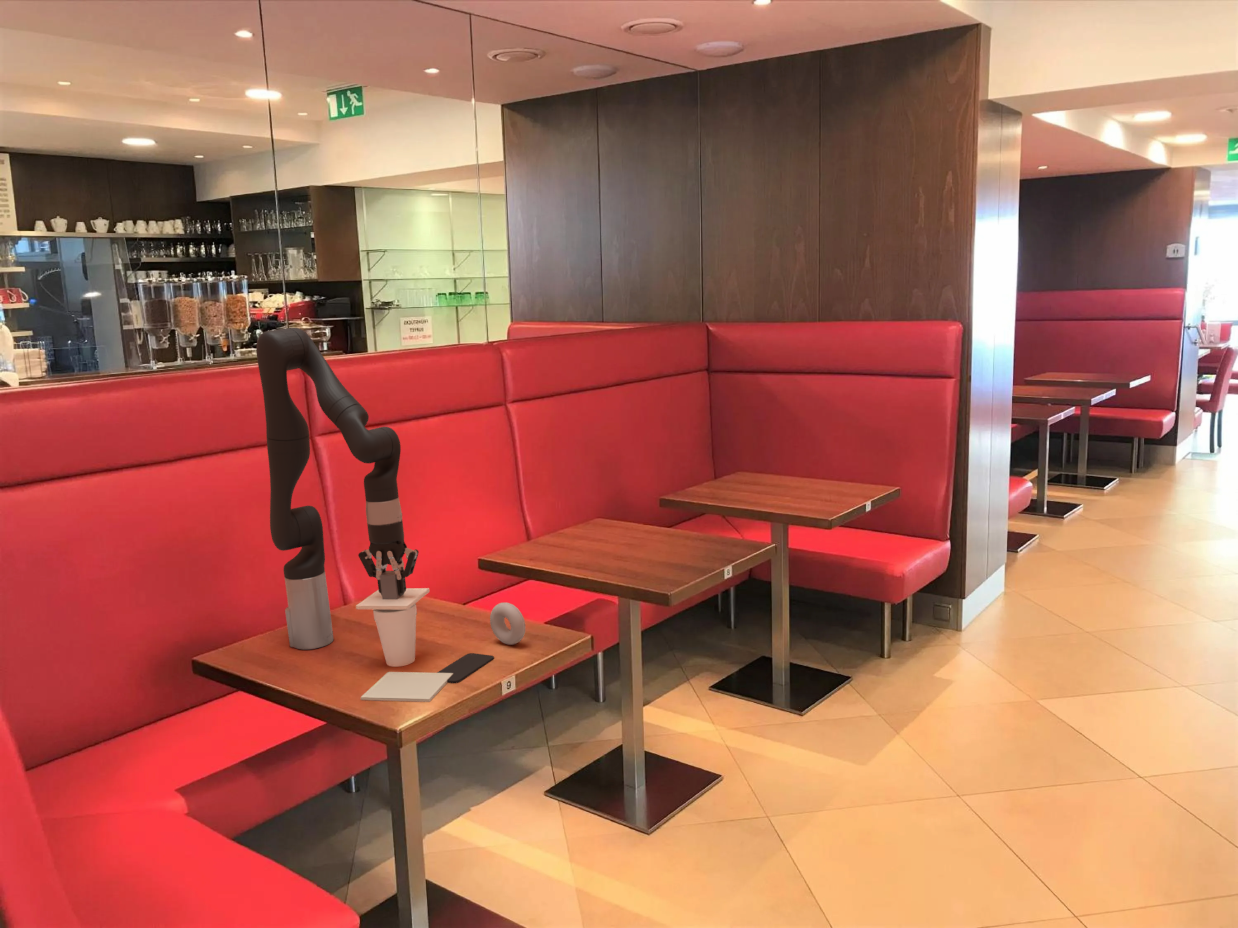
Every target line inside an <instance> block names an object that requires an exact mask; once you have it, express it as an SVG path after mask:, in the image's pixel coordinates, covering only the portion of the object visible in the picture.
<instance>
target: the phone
mask: <svg viewBox="0 0 1238 928" xmlns="http://www.w3.org/2000/svg"><path fill="white" fill-rule="evenodd" d="M494 659H495V656H493V655H491V654H490V655H489V654H483V653H473V652H469V653H467V654H465V655H462V656H461V657H459V658H458V659H456V660H455V661H453V662H452V663H450V664H449V665H446V666H445V667H444V668H442V669H440V670H439V671H437V672H436V673H453V675H452V676H451V677H450V678H449V679H448V680H447V683H446V684H458V683H460V682H462V681H464V680H465V679H467V678H468V677H470V676H471V675H473V674H475V672H477V671H479V670H480V669H482V668H483V667H484V666H486V665H488V664H489V663H490V662H492V661H494Z"/></svg>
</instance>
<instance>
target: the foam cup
mask: <svg viewBox="0 0 1238 928" xmlns="http://www.w3.org/2000/svg"><path fill="white" fill-rule="evenodd" d="M417 611H418V610H417V602H416V603H415V604H414V605H413V606H411V607H410V608H409V609H408V610H391V609H372V612H373V621H375V624H376V628H377V629H376V630H377V632H378V637H379V640H380V644H381V647H382V651H383V652H382V653H383V656H384V659H385V663H386V665H387V666H388V667H393V668H394V667H403V666H407V665H410V664H413V663H414V662H415V661H416V659H415V658H416V641H417V640H416V636H417V635H416V634H417V633H416V632H417V615H418V612H417Z"/></svg>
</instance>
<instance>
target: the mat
mask: <svg viewBox="0 0 1238 928" xmlns="http://www.w3.org/2000/svg"><path fill="white" fill-rule="evenodd" d="M452 675H453V673H437V672H418V671H417V672H416V671H415V672H413V671H412V672H411V671H403V672H402V671H388V672H386V673H385V674H384V675H383V676H382V677H381V678H380V679H379V680H378V681H376V682H375V684H373V685H372V686H371V687H370V688H369V689H368V690H367V691H365V692H364V693H363V694H362V695H361V696H360V701H382V702H383V701H385V702H389V701H390V702H420V703H421V702H423V703H425V702H426V703H428V702H429V703H430V702H431V701H432V700H433V699H434V698H435V697H436V696H437V695H438V693H440V691H441V690H442V689H443V688H444V687H445V686H446V685H447V684H448V683H447V680H448V679H449V678H450V677H451V676H452Z"/></svg>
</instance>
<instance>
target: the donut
mask: <svg viewBox="0 0 1238 928" xmlns="http://www.w3.org/2000/svg"><path fill="white" fill-rule="evenodd" d="M490 612H491V613H490V617H489V619H490V620H489V623H490V628H491V630H492V633H493V634H494V636H495V637H496V638H497V639H498V640H499V641H500V642H501V643H503V644H505V645H509V646H511V645H512V646H513V645H516V644H517V643H520V642H521V641H522V640H523V638H524V636H525V634H526V621H525V618H524V616H523V614H522V612H521V611H520V610H519V608H518V607H517V606H515V605H514V604H512V603H510V602H499V603H498V604H496V605H495V606H494V607H493V608H492V610H491V611H490ZM505 618H506V619H507V621H508V622H509V624H510V628H509V627H508V626H507V624H506V621H505Z"/></svg>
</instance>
